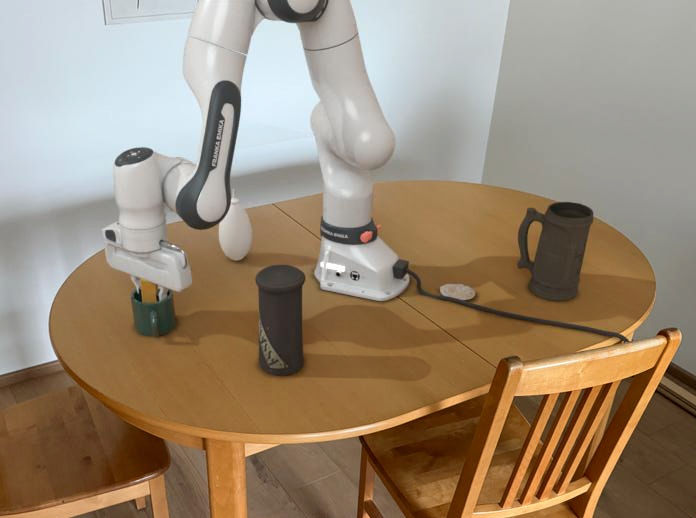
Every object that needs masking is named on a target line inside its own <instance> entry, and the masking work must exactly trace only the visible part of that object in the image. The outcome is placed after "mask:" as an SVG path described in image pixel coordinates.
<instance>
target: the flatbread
mask: <svg viewBox="0 0 696 518" xmlns="http://www.w3.org/2000/svg"><path fill="white" fill-rule="evenodd" d="M439 292H440V294H441V296H448V297H453V298H457V299H460V300H463V301H468V300H472V299H474V298H475V297H476V290H475V289H474V288H472V287H470V285H466V284H464V283H446V284H444V285H441V286H440V287H439Z"/></svg>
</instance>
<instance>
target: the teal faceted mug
mask: <svg viewBox="0 0 696 518" xmlns="http://www.w3.org/2000/svg"><path fill="white" fill-rule="evenodd" d="M173 292H174V290H171V289H169V290H168V292H167V298H166V299H164V300H162V301H159V302H154V303H144V302H142V295H140V294H138V293H137V288H135V289H133V290H132V291H131V293H130V303H131V308H132V316H133V322H134V327H135V330H136V331H137V333H139V334H141V335H143V336H147V337H153V338H155V339H156V338H159V337H160V336H163V335H166V334H168V333H170V332H172V331H173V330H174V329H175V328H176V326H177V319H176V310H175V302H174V301H175V299H174V293H173Z"/></svg>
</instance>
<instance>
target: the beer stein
mask: <svg viewBox="0 0 696 518" xmlns="http://www.w3.org/2000/svg"><path fill="white" fill-rule="evenodd" d="M534 222H538V223H540V224H541V232H540V235H539V237H538V242H537V247H536V251H535V256H534V260H533V261H532V260H531V259H530V254H529V243H528V242H529V241H528V235H529V229H530V226H531V224H533V223H534ZM593 223H594V211H593V209H592V208H591V207H589V206H587V205H585V204H582V203H580V202H571V201H558V202H557V201H556V202H552V203H551V204H549V205H548V206H547V209H546V211H545V212H544V213H542V212H540V211H538V210H537V209H536V208H535V207H527V209H526V213H525V216H524V218H523V220H522V222H521V223H520V225H519V228H518V232H517V244H518V249H519V254H520V258H519V260H518V261H517V263H516V268H517V269H525V270H528V271H529V272H530V274H531V278H530V280H529V282H528V288H529V291H530V292H531V293H532V294H534V295H535V296H536V297H538V298H541V299H545V300H548V301H555V302H564V301H569V300H572V299H574V298H575V297H577V294H578V289H579V287H578V286H579V284H580V283H581V279H580V276H581V271H582V267H583V262H584V258H585V253H586V247H587V242H588V238H589V234H590V229H591V225H593Z"/></svg>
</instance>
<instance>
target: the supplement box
mask: <svg viewBox="0 0 696 518" xmlns="http://www.w3.org/2000/svg"><path fill="white" fill-rule="evenodd" d="M140 281H141V292H142V302H144V303H154V302H159V301H156V293H159V292H160V289H159V288H158V285H157V284H154V283H152V282H149V281H146V280H143V279H141V280H140Z"/></svg>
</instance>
